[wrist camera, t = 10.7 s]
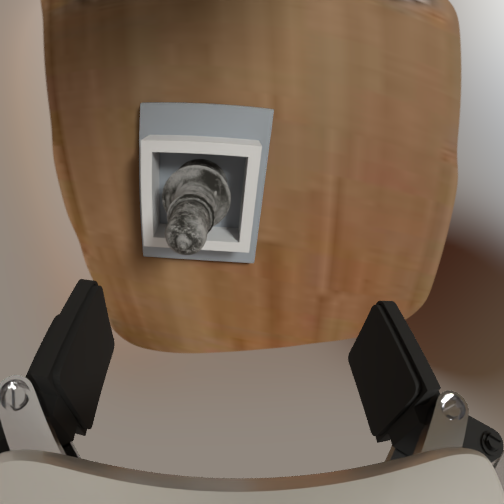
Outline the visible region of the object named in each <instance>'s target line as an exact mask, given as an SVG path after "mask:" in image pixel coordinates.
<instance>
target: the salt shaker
mask: <svg viewBox="0 0 504 504" xmlns="http://www.w3.org/2000/svg"><path fill="white" fill-rule="evenodd" d="M162 201H163V207H164V209H165V211H166V213H167V221H168V224H167V226H166V228H165V239H166V242H167V244H168V246H169V247H170V248H171V249H172V250H173V251H174V252H176V253H178V254H181V255H192V254H195V253H197V252H198V251H200V250H201V249H202V248H203V246H204V244H205V242H206V239H207V234H208V233H209V232H210V231H211V229H212V227H213V226H215V225H216V224H218V223H219V222H220V221H221V220H222V219H223V218H224V217H225V216H226V214H227V212H228V210H229V207H230V203H231V194H230V189H229V187H228V183H227V178H226V175H225V173H224V172H223V170H222V169H221V168H220V167H219V166H218V165H217V164H216V163H214V162H211V161H209V160H205V159H194V160H191V161H188V162H186V163H185V164H183V165H182V166H181V167H180V168H179V169H178V170H177V171H176V172H174V173H173V174H172V175H171V176H170V177H169V178H168V180H167V181H166V183H165V186H164V188H163V193H162Z"/></svg>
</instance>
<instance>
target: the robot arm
mask: <svg viewBox="0 0 504 504" xmlns="http://www.w3.org/2000/svg"><path fill="white" fill-rule="evenodd" d="M113 350H114V338H113V335H112V330H111V326H110V322H109V317H108V313H107V308H106V304H105V299H104V294H103V289H102V287H101V286H98V284H97V282H96V281H92V280H84V279H80V280H79V281H78V283H77V284H76V286H75V288H74V290H73V291H72V293H71V295H70V297H69V298H68V300H67V302H66V304H65V306H64V307H63V309H62V311H61V313H60V314H59V315H57V316H56V317H55V318H54V320H53V322H52V324H51V325H50V327H49V329H48V331H47V333H46V335H45V337H44V339H43V341H42V343H41V345H40V347H39V349H38V351H37V353H36V355H35V357H34V360H33V362H32V364H31V366H30V368H29V371H28V373H27V375H26V377H23V376H19V375H13V376H9V377H7V378H6V379H4V380H3V381H2V382H1V383H0V504H504V450H503V441H502V438H501V436H500V435H499V433H498V432H496V431H495V430H494V429H492V428H490V427H489V426H487V425H485V424H483V423H481V422H480V421H478V420H476V419H474V418H472V417H471V416H469V408H468V405H467V403H466V401H465V399H464V398H463V397H462V396H461V395H460V394H458V393H457V392H454V391H444V392H442V393H441V394H440V393H439V389H440V388H441V387H440V385H439V383H438V381H437V379H436V377H435V375H434V373H433V371H432V369H431V367H430V365H429V363H428V361H427V359H426V357H425V356H424V354H423V352H422V350H421V348H420V346H419V344H418V343H417V341H416V339H415V337H414V335H413V333H412V331H411V330H410V328H409V326H408V324H407V323H406V321H405V319H404V317H403V315H402V314H401V312H400V310H399V308H398V307H397V305H396V303H395V302H393V301H378V302H377V303H376V305H373V307H372V308H371V310H370V313H369V315H368V317H367V319H366V321H365V323H364V325H363V327H362V329H361V331H360V333H359V335H358V337H357V339H356V341H355V343H354V345H353V347H352V349H351V351H350V353H349V356H348V360H349V364H350V367H351V370H352V373H353V376H354V379H355V382H356V385H357V388H358V392H359V395H360V398H361V401H362V404H363V407H364V410H365V414H366V417H367V420H368V424H369V427H370V430H371V433H372V435H373V436H376V439H377V442H383V441H388V440H390V439H391V442H392V447H391V449H390V451H389V453H388V455H387V458H386V460H385V462H382V463H378V464H373V465H368V466H363V467H358V468H353V469H348V470H341V471H334V472H328V473H320V474H311V475H302V476H291V477H277V478H254V479H253V478H250V479H249V478H247V479H235V478H230V479H229V478H203V477H189V476H178V475H169V474H160V473H153V472H146V471H139V470H134V469H128V468H122V467H117V466H112V465H107V464H102V463H98V462H93V461H89V460H85V459H81V457H80V455H79V454H78V452H77V450H76V448H75V446H74V444H73V442H72V441H73V440H74V435H75V433H76V434H80V435H84V436H85V435H86V431H87V429H91V427H92V425H93V421H94V417H95V413H96V409H97V405H98V401H99V397H100V394H101V390H102V387H103V383H104V380H105V376H106V373H107V370H108V366H109V363H110V360H111V357H112V353H113Z"/></svg>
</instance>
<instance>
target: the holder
mask: <svg viewBox="0 0 504 504" xmlns="http://www.w3.org/2000/svg"><path fill="white" fill-rule="evenodd" d="M273 113H274V110H273V109H268V108H259V107H249V106H237V105H224V104H207V103H176V102H150V103H141V104H140V131H139V184H140V212H141V231H142V245H143V256H147V257H162V258H178V259H194V260H210V261H226V262H243V263H254V259H255V252H256V244H257V236H258V229H259V221H260V213H261V206H262V198H263V190H264V183H265V175H266V167H267V159H268V152H269V144H270V136H271V128H272V120H273ZM194 159H205V160H209V161H211V162H214V163H216V164H217V165H218V166H219V167H220V168H221V169H222V170H223V172H224V173H225V175H226V178H227V183H228V187H229V189H230V194H231V203H230V207H229V210H228V212H227V214H226V216H225V217H224V218H223V219H222V220H221V221H220V222H219V223H218V224H216V225H215V226H213V227H212V229H211V231H210V232H209V233H208V234H207V239H206V242H205V244H204V246H203V248H202V249H201V250H200V251H198V252H197V253H195V254H192V255H181V254H178V253H176V252H174V251H173V250H172V249H171V248H170V247H169V246H168V244H167V242H166V239H165V228H166V226H167V224H168V221H167V213H166V211H165V209H164V207H163V201H162V193H163V188H164V186H165V183H166V181H167V180H168V178H169V177H170V176H171V175H172V174H173V173H174V172H176V171H177V170H178V169H179V168H180V167H181V166H182V165H183V164H185V163H186V162H188V161H191V160H194Z"/></svg>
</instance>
